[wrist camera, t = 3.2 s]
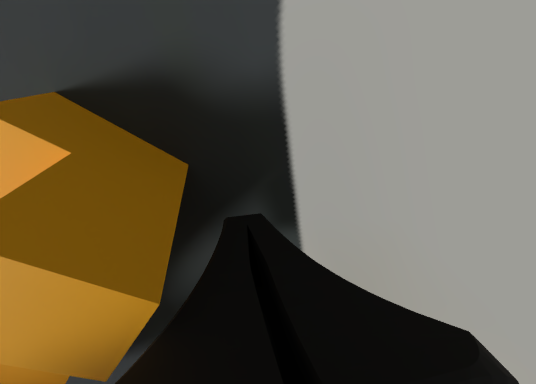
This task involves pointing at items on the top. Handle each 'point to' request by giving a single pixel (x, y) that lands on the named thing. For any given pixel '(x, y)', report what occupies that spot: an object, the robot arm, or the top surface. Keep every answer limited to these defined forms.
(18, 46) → the top surface
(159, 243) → the pipe clamp
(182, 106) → the top surface
